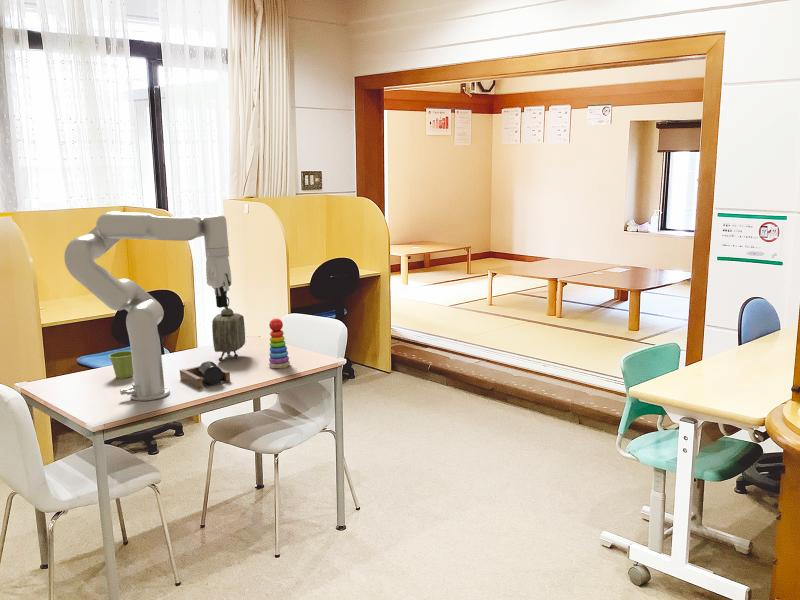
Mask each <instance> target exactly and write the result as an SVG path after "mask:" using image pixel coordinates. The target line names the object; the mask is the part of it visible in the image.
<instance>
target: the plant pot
mask: <svg viewBox="0 0 800 600" xmlns="http://www.w3.org/2000/svg"><path fill="white" fill-rule="evenodd" d="M108 358H109V359H110V361H111V363H112V367H113V370H114V375H115V378H116V377H117V378H118V379H120V378H121V379H127V378H130V377H134V375H133V365H132V356H131V350H124V351H123V350H122V351H117V352H113V353H110V354H109V355H108Z"/></svg>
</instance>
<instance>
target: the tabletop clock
mask: <svg viewBox="0 0 800 600" xmlns="http://www.w3.org/2000/svg"><path fill="white" fill-rule="evenodd" d="M227 305H228V306H227V307H223V308H222V310H221V312H220V313H219V314H217V315H215V316H214V317H213V319H212V322H211V323H212V325H211V328H212V329H211V332H212V343H213V348H214V352H216V353H221V356H219V357H218V361H219V362H223V360H224V358H223V357H224V356H225V354H227V355H230V354H231V352H232V353H233V354H234V358H235V359H238V357H239V354H238V353H237V351H238V350H240V349H242V348H243V346H244V345H245V344H246V327H245V318H244V315H242V314H240V313H236V312H235V313H234V311H233V309H232V308H229V306H230V298H229V297H228V296H227Z"/></svg>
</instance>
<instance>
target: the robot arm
mask: <svg viewBox="0 0 800 600" xmlns="http://www.w3.org/2000/svg"><path fill="white" fill-rule="evenodd" d="M200 237H204V238H203V239H204V248H205V249H204V250H205V259H206V261H205V266H206V267H205V270H206V271H205V272H206V273H205V275H206V284H207V285H208V286H209V287H212V288H213V289H214V295H215V301H216V304H215V305H216V308H224V307H227V306H228V305H227V304H228V299H227V297H228V296H227V295H228V292H229V291H230V287H231V286H232V273H231V265H230V260H229V257H230V248H229V238H228V226H227V218H226V216H224V215H221V214H213V215H211V214H210V215H194V214H192V215H191V214H190V215H187V216H183V217H182V216H181V217H175V216H173V217H172V216H171V217H169V216H158V215H154V214H151V213H148V212H121V211H119V210H118V211H117V210H112V211H108V212H104V213H102V214H100V215H99V216H98V218H97V220H96V222H95V227H93V228H92V229H91V230H90V231H89V232H88V233H87V234H84V235H80V236H77V237H75V238H73V239H71V240H70V241H69V243H67V245H66V247H65V250H64V263H65V266H66V267H65V268H66V269H67V271H68V273H69V274H70V275H71V276H72V278H74V279H75V280H76V281H77V282H79V283H80V285H82V286H84V287H85V288H86V289H87V290H88V291H89V292H90V293H91V294H93V295H94V297H96V298H97V299H98V300H100V301H101V303H103V304H104V305H105V306H106V307H108V308H109V309H111V310H113V311H119V312H120V311H122V310H125V311H126V312H127V315H126V319H125V324H126V325H125V326H126V330H127V334H128V340H129V345H130V351H131V356H132V365H133V383H131V386H129V387H127V388H121V389H120V390H119V394H120V395H121V396H123V395H127V396H129V395H130V398H131V400H134V401H140V402H141V401H142V402H143V401H144V402H145V401H153V400H157V399H159V400H160V399H162V398H165V397H166V396H168V395H169V394H170V393H171V390H170V388H169V387H167V386H165V380H164V378H165V377H164V367H163V358H162V348H161V341H160V340H161V339H160V334H159V330H158V325H159V324H160V323H161V322H162V320H163V318H164V314H165V313H164V309H163V306H162V305H161V303H160V302H159V301H158V300H157V299H155V298H154V297H153V296H152V295H151V294H150V293H148V291H146V290H145V289H144V288H143V287H142V286H140V285H139V284H138V283H137V282H135V281H133V280H131V279H129V278H118V279H117V278H116V277H114V276H113V274H111V273H110V272H109V271H108V270H107V269H105V268H104V267H102V266H101V265H100V264H97V262H96V261H95V259H98V258H100V257H102V256H103V255H105V254H106V253H107V252H108V251H109V250H110V249H111V248H112V247H113V246H115V245H116V244H117V243H118V242H119V241H120V240H126V239H127V240H150V241H152V240H153V241H158V240H159V241H174V242H175V241H182V242H186V241H193V240H195V239H197V238H200ZM228 307H229V306H228Z"/></svg>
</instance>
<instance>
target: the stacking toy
mask: <svg viewBox="0 0 800 600" xmlns="http://www.w3.org/2000/svg"><path fill="white" fill-rule="evenodd" d="M283 327H284V325H283V321H282V320H281V319H279V318H272V319H270V321H269V329H270V330H271V331H270V333H269V335H270V337H269V341H270V342H269V346H270V348H269V351H270V352H269V363H268V365H269V366H268V367H270V368H271V369H275V368H280V369H285V368H288V367H289V366H291V365H290V364H291V362H290V357H289V352H288V347H287V346H286V341H285V336H284V331H283V330H282V329H283Z"/></svg>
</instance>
